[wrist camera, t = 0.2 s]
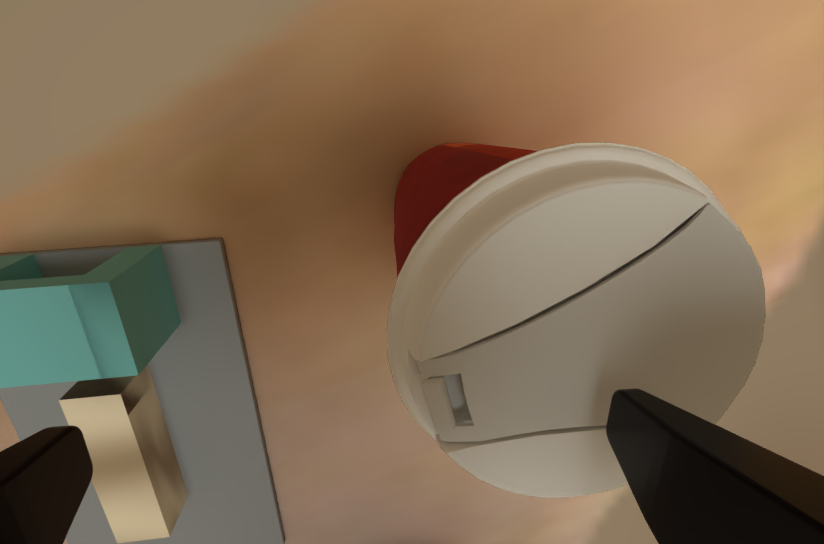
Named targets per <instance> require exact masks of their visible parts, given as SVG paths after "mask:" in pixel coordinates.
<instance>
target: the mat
mask: <svg viewBox="0 0 824 544" xmlns="http://www.w3.org/2000/svg"><path fill="white" fill-rule="evenodd" d="M153 245H161V249H162V252H163V256H164V260H165V264H166V267H167V271H168V275H169V279H170V283H171V286H172V290H173V294H174V298H175V301H176V305H177V309H178V313H179V317H180V320H181V324H180V325H179V326H178V328H177V329H176V330H175V331H174V332H173V334H172V335H171V336H170V337H169V339H168V340H167V341H166V342H165V344H164V345H163V346H162V347H161V348H160V350H159V351H158V352H157V353H156V355H155V356H154V357H153V358H152V360H151V361H150V362H149V363H148V367H149V370H150V373H151V377H152V380H153V383H154V386H155V390H156V393H157V396H158V399H159V403H160V406H161V409H162V412H163V415H164V419H165V422H166V425H167V428H168V432H169V435H170V438H171V441H172V445H173V448H174V451H175V454H176V458H177V461H178V464H179V467H180V471H181V474H182V477H183V480H184V484H185V487H186V490H187V493H188V497H187V499H186V501H185V504H184V506H183V508H182V510H181V513H180V515H179V517H178V520H177V522H176V524H175V526H174V529H173V531H172V533H171V535H170V537H166V538H158V539H150V540H142V541H134V542H125V543H117V541H116V539H115V536H114V534H113V532H112V529H111V527H110V524H109V522H108V519H107V517H106V514H105V512H104V510H103V507H102V505H101V502H100V500H99V497H98V495H97V493H96V490H95V488H94V485H93V483H92V480H91V482H90V484H89V487H88V489H87V491H86V493H85V496H84V498H83V500H82V502H81V504H80V507H79V509H78V511H77V513H76V516H75V518H74V520H73V522H72V525H71V527H70V529H69V531H68V533H67V536H66V539H67V541H68V543H69V544H284V543H285V537H284V532H283V527H282V522H281V518H280V513H279V508H278V503H277V499H276V494H275V489H274V484H273V479H272V475H271V470H270V465H269V460H268V456H267V451H266V446H265V441H264V436H263V432H262V427H261V422H260V417H259V412H258V408H257V403H256V398H255V393H254V389H253V384H252V379H251V374H250V369H249V365H248V360H247V355H246V350H245V346H244V341H243V336H242V331H241V326H240V322H239V317H238V312H237V307H236V302H235V298H234V293H233V288H232V283H231V279H230V274H229V269H228V264H227V259H226V255H225V250H224V245H223V240H222V238H221V239H206V240H192V241H177V242H163V243H148V244H133V245H119V246H104V247H90V248H75V249H61V250H46V251H31V252H17V253H2V254H0V256H9V255H23V254H34V256H35V258H36V261H37V264H38V266H39V269H40V271H41V274H42V277H43V278H48V277H62V276H75V275H85V274H86V273H88V272H89V271H91V270H93V269H94V268H96V267H97V266H99V265H101V264H102V263H104V262H105V261H107V260H109V259H110V258H112V257H113V256H115V255H117V254H118V253H120V252H121V251H123V250H125V249H126V248H128V247H139V246H153ZM77 382H78V381H72V382H61V383H51V384H40V385H29V386H18V387H8V388H0V398H1V400H2V402H3V405H4V407H5V409H6V411H7V413H8V415H9V417H10V420H11V422H12V424H13V426H14V428H15V430H16V432H17V434H18V437H19V439H20V441H22V440H24V439H25V438H27V437H29V436H31V435H33V434H35V433H37V432H39V431H40V430H42V429H45V428H48V427H54V426H69V424H68V422H67V420H66V417H65V415H64V412H63V410H62V407H61V405H60V403H59V399H60V398H61V397H62V396H63V395H64V394H65V393H66V392H67V391H68V390H69V389H70V388H71V387H73V386H74V385H75V384H76V383H77Z"/></svg>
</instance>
